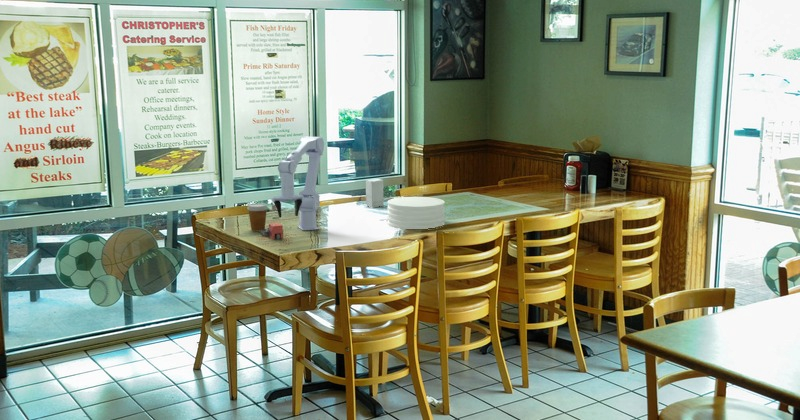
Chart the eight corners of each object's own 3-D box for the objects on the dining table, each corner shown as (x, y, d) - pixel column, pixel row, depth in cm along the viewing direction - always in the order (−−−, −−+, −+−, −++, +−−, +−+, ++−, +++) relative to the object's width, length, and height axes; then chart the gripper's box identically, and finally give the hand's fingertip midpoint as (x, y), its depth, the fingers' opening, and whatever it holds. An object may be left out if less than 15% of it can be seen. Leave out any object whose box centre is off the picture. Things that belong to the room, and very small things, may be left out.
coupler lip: (261, 233, 390) (260, 227, 390) (280, 231, 394) (279, 226, 393) (268, 240, 377) (268, 233, 376) (288, 238, 380) (287, 232, 379)
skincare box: (377, 204, 465) (377, 178, 462) (384, 206, 460) (384, 179, 457) (365, 206, 459) (365, 179, 457) (371, 208, 455) (371, 181, 452)
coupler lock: (269, 236, 385) (268, 223, 383) (279, 235, 386) (278, 222, 385) (272, 239, 378) (272, 226, 377) (282, 238, 380) (282, 225, 379)
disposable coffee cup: (253, 232, 392) (252, 207, 389) (244, 229, 399) (243, 204, 397) (271, 230, 397) (271, 205, 395) (262, 227, 405) (261, 202, 402)
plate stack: (451, 221, 421) (451, 198, 419) (434, 232, 395) (434, 208, 393) (398, 217, 431) (398, 195, 429) (379, 227, 405) (379, 204, 403)
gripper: (273, 189, 374) (274, 219, 376) (305, 187, 379) (306, 216, 382) (270, 186, 380) (271, 216, 383) (301, 184, 385) (302, 214, 388)
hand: (288, 216), depth 383 cm, fingers open, 7 cm apart
